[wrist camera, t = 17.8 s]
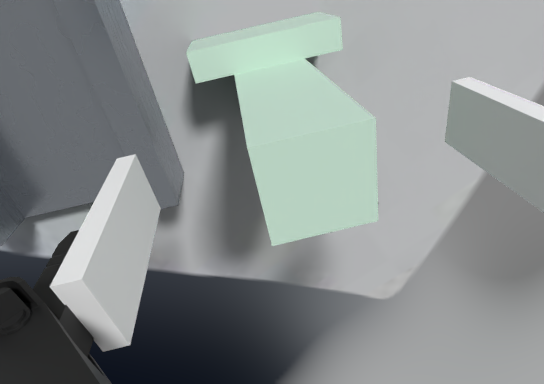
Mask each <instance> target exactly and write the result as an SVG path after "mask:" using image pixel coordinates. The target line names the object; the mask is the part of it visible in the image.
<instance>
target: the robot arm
mask: <svg viewBox="0 0 544 384" xmlns="http://www.w3.org/2000/svg"><path fill="white" fill-rule="evenodd" d="M445 142H446V143H447V144H449V145H450V146H451V147H453V148H454V149H455V150H457V151H458V152H460V153H461V154H462V155H464V156H465V157H467V158H468V159H469V160H471V161H472V162H474V163H475V164H476V165H478V166H479V167H481V168H482V169H483V170H485V171H486V172H487V173H489V174H490V175H492V176H493V177H494V178H496V179H497V180H499V181H500V182H501V183H503V184H504V185H506V186H507V187H508V188H510V189H511V190H513V191H514V192H515V193H517V194H518V195H520V196H521V197H522V198H524V199H525V200H526V201H528V202H529V203H531V204H532V205H534V206H535V207H536V208H538V209H539V210H540V211H542V212H543V213H544V106H542V105H539V104H537V103H534V102H532V101H529V100H527V99H524V98H522V97H519V96H516V95H514V94H511V93H509V92H506V91H504V90H501V89H499V88H496V87H494V86H491V85H489V84H486V83H484V82H481V81H479V80H476V79H474V78H471V77H468V78H464V79H459V80H455V81H452V85H451V93H450V102H449V110H448V119H447V127H446V135H445ZM160 210H161V208H160V206H159V204H158V201H157V199H156V197H155V195H154V193H153V191H152V188H151V186H150V184H149V182H148V180H147V178H146V175H145V173H144V171H143V169H142V167H141V164H140V162H139V160H138V158H137V156H136V154H134V155H130V156H126V157H121V158H117V159H116V161H115V163H114V165H113V167H112V169H111V171H110V173H109V174H108V176H107V178H106V180H105V182H104V184H103V186H102V188H101V190H100V192H99V193H98V195H97V197H96V199H95V201H94V203H93V205H92V207H91V209H90V211H89V213H88V214H87V216H86V218H85V220H84V222H83V224H82V226H81V228H80V230H77V231H73V232H70V233H69V234H68V235H67V236H66V237H65V238H64V239H63V240H62V241H61V242H60V243H59V244H58V246H57V248H56V250H55V251H54V253H53V255H52V258H50V260H49V262H48V264H47V265H46V267H47V268H45V269H44V270H43V272H42V274H41V276H40V278H39V279H38V281H37V283H36V284H35V286H34V288H33V289H32V288H31V287H30V286H29V285H28V284H27V283H26V281H25V280H23V279H21V278H20V277H9V278H6V279H2V280H0V384H111V382H110V381H109V379H108V378H107V377H106V375H105V374H104V373H103V371H102V370H101V369H100V367H99V366H98V364H97V363H96V362H95V360H94V359H93V358H92V357H91V355H90V354H89V352H90V349H91V345H92V342H93V340H94V341H95V342H96V343H97V345H98V346H99V347H100V348H101V349H102V351H108V350H112V349H116V348H120V347H124V346H128V345H130V344H131V339H132V335H133V330H134V325H135V321H136V317H137V312H138V308H139V303H140V298H141V294H142V290H143V285H144V281H145V277H146V272H147V268H148V263H149V259H150V254H151V250H152V245H153V241H154V236H155V232H156V227H157V223H158V218H159V214H160Z"/></svg>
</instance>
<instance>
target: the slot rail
mask: <svg viewBox="0 0 544 384" xmlns="http://www.w3.org/2000/svg"><path fill="white" fill-rule="evenodd" d="M134 154H136V156H137V158H138V160H139V162H140V164H141V167H142V169H143V171H144V173H145V175H146V178H147V180H148V182H149V184H150V186H151V188H152V191H153V193H154V195H155V197H156V199H157V201H158V204H159V206H160V208H161V209H164V208H168V207H172V206H177V205H178V203H179V198H180V192H181V187H182V182H183V176H184V172H183V169H182V166H181V164H180V161H179V158H178V156H177V153H176V150H175V148H174V145H173V142H172V140H171V137H170V134H169V132H168V129H167V126H166V124H165V121H164V118H163V116H162V113H161V110H160V108H159V105H158V102H157V100H156V97H155V94H154V92H153V89H152V86H151V84H150V81H149V78H148V76H147V73H146V70H145V68H144V65H143V62H142V60H141V57H140V54H139V52H138V49H137V46H136V44H135V41H134V38H133V36H132V33H131V30H130V28H129V25H128V22H127V20H126V17H125V14H124V12H123V9H122V6H121V4H120V1H119V0H0V246H2V245H3V244H4V242H5V241H6V240H7V239H8V238H9V236H10V235H11V234H12V233H13V232H14V230H15V229H16V228H17V227H18V226H19V224H20V223H21V222H22V221H23V220H24V219H25V218H27V217H31V216H35V215H40V214H44V213H49V212H53V211H57V210H62V209H66V208H70V207H75V206H79V205H83V204H88V203H92V202H94V201H95V199H96V197H97V195H98V193H99V192H100V190H101V188H102V186H103V184H104V182H105V180H106V178H107V176H108V174H109V173H110V171H111V169H112V167H113V165H114V163H115V161H116V159H117V158H121V157H126V156H130V155H134Z"/></svg>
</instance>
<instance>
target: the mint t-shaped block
mask: <svg viewBox="0 0 544 384" xmlns="http://www.w3.org/2000/svg"><path fill="white" fill-rule="evenodd" d="M339 50H343V47H342V33H341V19H340V17H337V16H333V15H329V14H325V13H322V12H316V13H311V14H307V15H303V16H298V17H294V18H290V19H285V20H281V21H276V22H272V23H268V24H263V25H259V26H255V27H250V28H246V29H241V30H237V31H233V32H228V33H224V34H220V35H215V36H211V37H206V38H202V39H198V40H193V41H192V42H191V44H190V46H189V48H188V50H187V52H186V54H187V57H188V60H189V64H190V67H191V70H192V73H193V76H194V80H195V83H200V82H205V81H209V80H213V79H218V78H222V77H226V76H231V75H234V76H235V82H236V88H237V93H238V99H239V104H240V110H241V116H242V121H243V127H244V133H245V138H246V144H247V149H248V153H249V157H250V161H251V165H252V169H253V173H254V177H255V181H256V185H257V189H258V193H259V197H260V201H261V205H262V208H263V212H264V216H265V220H266V224H267V228H268V232H269V236H270V240H271V244H272V246H275V245H279V244H283V243H287V242H292V241H296V240H300V239H304V238H308V237H313V236H317V235H321V234H325V233H329V232H334V231H338V230H342V229H346V228H350V227H355V226H359V225H363V224H367V223H371V222H376V221H378V191H377V149H376V118H375V117H374V116H373V115H371V114H370V113H369V112H368V111H367V110H366V109H364V108H363V107H362V106H361V105H360V104H358V103H357V102H356V101H355V100H354V99H352V98H351V97H350V96H349V95H348V94H346V93H345V92H344V91H343V90H342V89H340V88H339V87H338V86H337V85H336V84H334V83H333V82H332V81H331V80H330V79H328V78H327V77H326V76H325V75H324V74H322V73H321V72H320V71H319V70H318V69H316V68H315V67H314V66H313V65H312V64H311V63H309V62H308V61H307V60H306V59H305V58H309V57H313V56H318V55H322V54H326V53H331V52H335V51H339Z"/></svg>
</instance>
